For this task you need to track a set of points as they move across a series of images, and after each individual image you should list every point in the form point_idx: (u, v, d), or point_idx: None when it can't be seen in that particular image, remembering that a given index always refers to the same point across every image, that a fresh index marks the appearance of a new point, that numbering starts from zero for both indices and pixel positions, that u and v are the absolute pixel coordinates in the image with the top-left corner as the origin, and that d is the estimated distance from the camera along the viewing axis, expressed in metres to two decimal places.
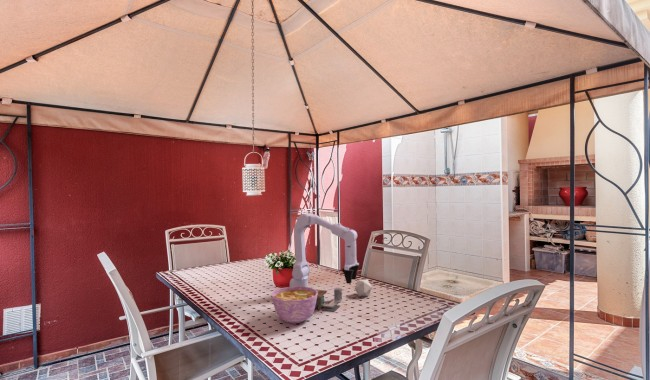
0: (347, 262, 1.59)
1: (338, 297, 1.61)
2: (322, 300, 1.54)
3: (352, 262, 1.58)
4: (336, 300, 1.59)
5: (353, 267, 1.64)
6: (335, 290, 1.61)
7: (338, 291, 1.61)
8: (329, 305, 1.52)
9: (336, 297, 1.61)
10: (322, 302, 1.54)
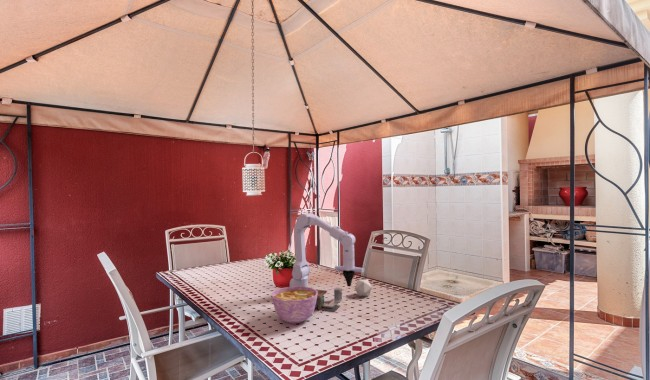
0: None
1: (338, 297, 1.61)
2: (322, 300, 1.54)
3: (343, 266, 1.59)
4: (336, 300, 1.59)
5: None
6: (335, 290, 1.61)
7: (338, 291, 1.61)
8: (329, 305, 1.52)
9: (336, 297, 1.61)
10: (322, 302, 1.54)
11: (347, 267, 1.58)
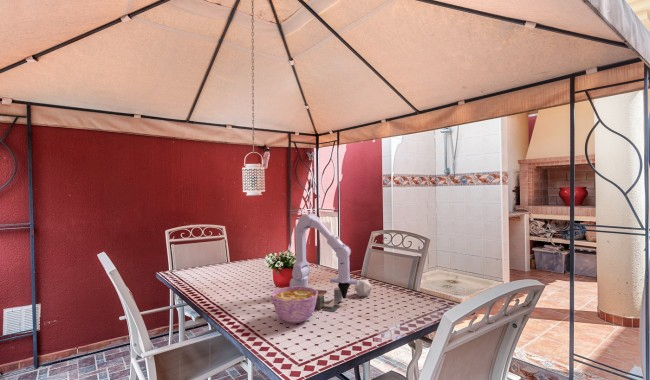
0: None
1: (338, 297, 1.61)
2: (322, 300, 1.54)
3: (338, 278, 1.60)
4: (336, 300, 1.59)
5: None
6: (335, 290, 1.61)
7: (338, 291, 1.61)
8: (329, 305, 1.52)
9: (336, 297, 1.61)
10: (322, 302, 1.54)
11: (342, 279, 1.59)
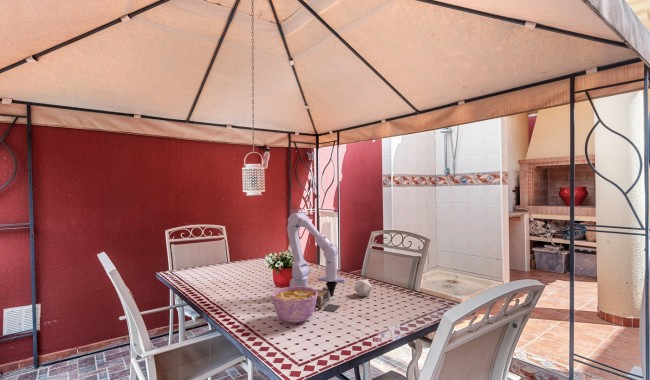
0: None
1: (326, 296, 1.63)
2: None
3: (326, 277, 1.63)
4: (324, 299, 1.62)
5: None
6: (323, 289, 1.64)
7: (326, 290, 1.63)
8: (317, 303, 1.55)
9: (324, 296, 1.64)
10: None
11: (329, 278, 1.61)
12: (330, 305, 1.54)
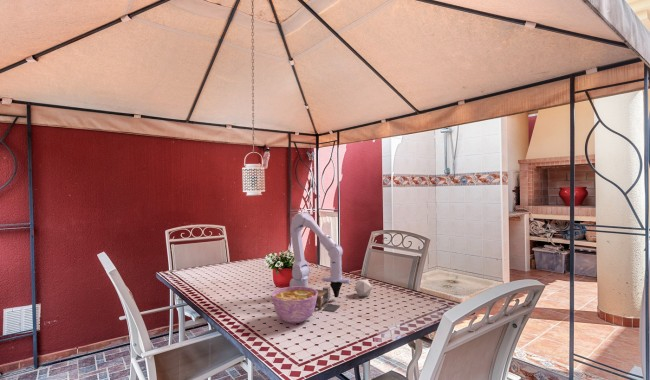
0: None
1: (326, 296, 1.63)
2: None
3: (330, 277, 1.62)
4: (324, 299, 1.62)
5: None
6: (323, 289, 1.64)
7: (326, 290, 1.63)
8: (317, 303, 1.55)
9: (324, 296, 1.64)
10: None
11: (334, 278, 1.60)
12: (330, 305, 1.54)
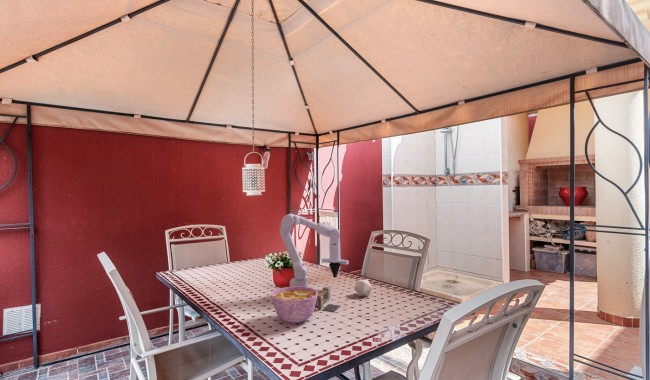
0: None
1: (326, 296, 1.63)
2: None
3: (329, 258, 1.70)
4: (324, 299, 1.62)
5: None
6: (323, 289, 1.64)
7: (326, 290, 1.63)
8: (317, 303, 1.55)
9: (324, 296, 1.64)
10: None
11: (333, 259, 1.68)
12: (330, 305, 1.54)
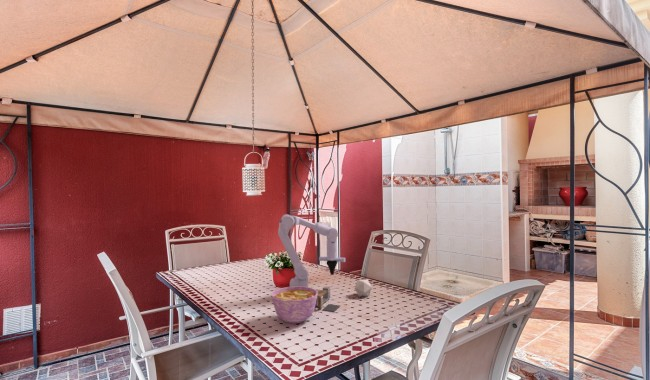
0: None
1: (326, 296, 1.63)
2: None
3: (327, 256, 1.74)
4: (324, 299, 1.62)
5: None
6: (323, 289, 1.64)
7: (326, 290, 1.63)
8: (317, 303, 1.55)
9: (324, 296, 1.64)
10: None
11: (331, 257, 1.73)
12: (330, 305, 1.54)
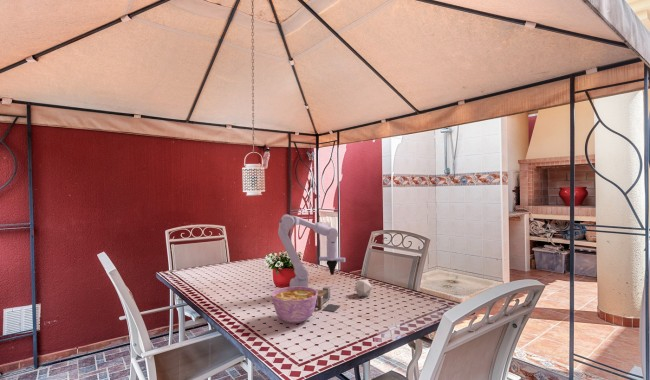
0: None
1: (326, 296, 1.63)
2: None
3: (327, 256, 1.74)
4: (324, 299, 1.62)
5: None
6: (323, 289, 1.64)
7: (326, 290, 1.63)
8: (317, 303, 1.55)
9: (324, 296, 1.64)
10: None
11: (331, 257, 1.73)
12: (330, 305, 1.54)
